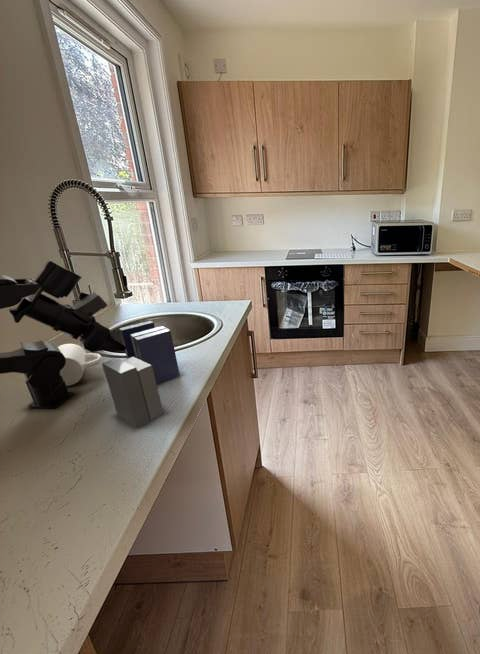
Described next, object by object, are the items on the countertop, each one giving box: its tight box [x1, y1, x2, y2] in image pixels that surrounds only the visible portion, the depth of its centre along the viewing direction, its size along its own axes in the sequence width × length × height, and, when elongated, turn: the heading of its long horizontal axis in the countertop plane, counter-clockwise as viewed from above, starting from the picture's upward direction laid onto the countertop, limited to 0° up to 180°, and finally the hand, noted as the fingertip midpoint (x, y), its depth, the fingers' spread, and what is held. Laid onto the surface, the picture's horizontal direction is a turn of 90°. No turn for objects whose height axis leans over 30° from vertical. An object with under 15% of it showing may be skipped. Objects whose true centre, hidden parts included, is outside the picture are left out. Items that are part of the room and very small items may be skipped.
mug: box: [57, 343, 103, 387], centre depth 92 cm, size 12×10×8 cm
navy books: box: [130, 325, 181, 385], centre depth 89 cm, size 8×5×13 cm, turn 135°
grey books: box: [101, 357, 164, 429], centre depth 74 cm, size 8×6×13 cm
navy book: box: [118, 320, 156, 359], centre depth 94 cm, size 8×2×13 cm, turn 134°
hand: (119, 344), depth 90 cm, fingers open, 9 cm apart
